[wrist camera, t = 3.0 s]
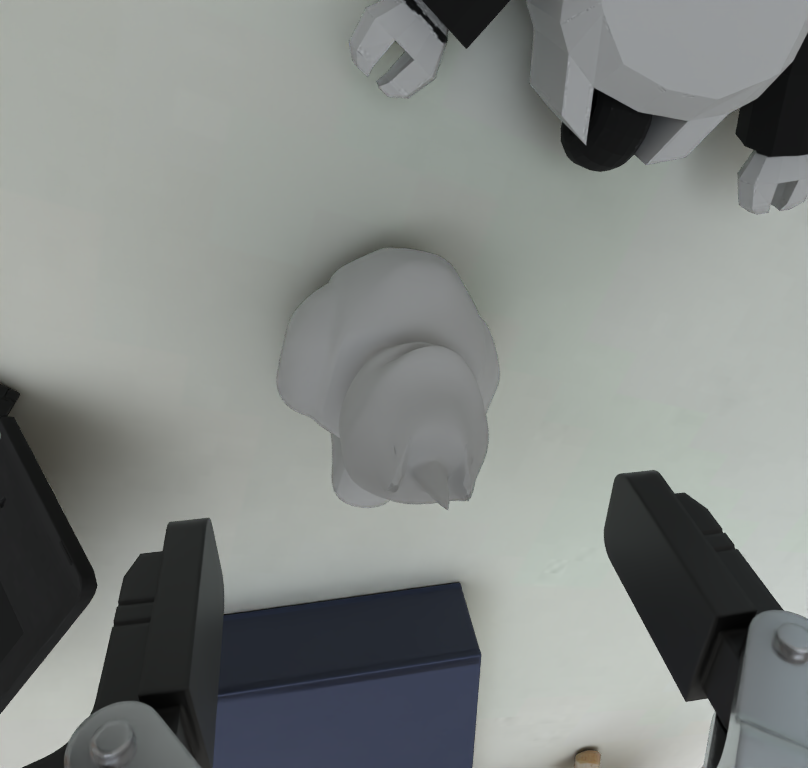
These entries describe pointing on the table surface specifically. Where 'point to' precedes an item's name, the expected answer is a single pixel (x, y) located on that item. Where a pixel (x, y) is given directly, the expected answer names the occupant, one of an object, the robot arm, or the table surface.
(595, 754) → the unicorn figurine
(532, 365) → the table surface
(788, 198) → the robot toy
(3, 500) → the handheld gaming console
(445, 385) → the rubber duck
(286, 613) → the book
